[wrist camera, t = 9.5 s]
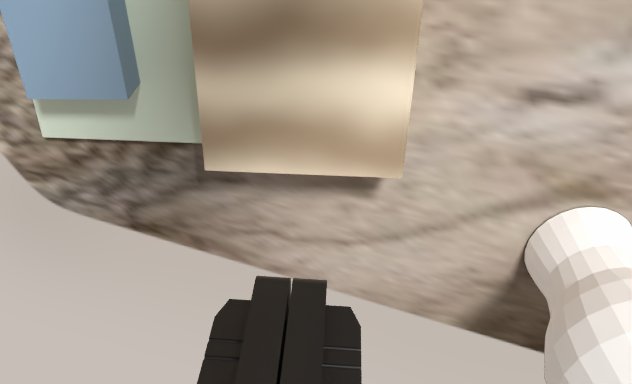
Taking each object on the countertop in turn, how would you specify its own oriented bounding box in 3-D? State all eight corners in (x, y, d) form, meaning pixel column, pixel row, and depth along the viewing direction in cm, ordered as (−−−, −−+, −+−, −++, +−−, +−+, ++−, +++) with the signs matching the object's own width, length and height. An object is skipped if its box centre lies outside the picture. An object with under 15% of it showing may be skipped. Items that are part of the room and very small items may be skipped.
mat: (-38, -187, 29) (-44, -187, 29) (180, -182, 29) (177, -182, 28) (46, 132, 39) (42, 137, 39) (209, 139, 39) (207, 143, 38)
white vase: (686, 206, 40) (840, 386, 28) (609, 313, 46) (708, 503, 33) (541, 174, 39) (633, 345, 27) (482, 287, 45) (534, 472, 32)
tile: (93, -67, 29) (110, -75, 31) (-23, -66, 29) (1, -74, 31) (127, 99, 34) (140, 82, 36) (27, 99, 34) (46, 82, 36)
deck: (190, -181, 29) (170, -180, 26) (432, -175, 29) (444, -174, 25) (217, 139, 39) (204, 170, 35) (397, 146, 39) (402, 178, 35)
